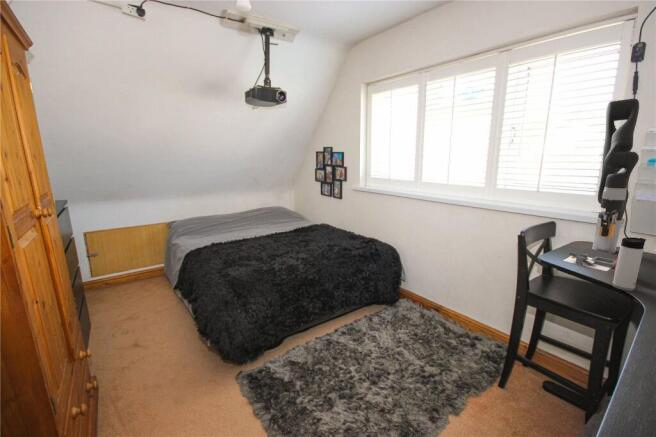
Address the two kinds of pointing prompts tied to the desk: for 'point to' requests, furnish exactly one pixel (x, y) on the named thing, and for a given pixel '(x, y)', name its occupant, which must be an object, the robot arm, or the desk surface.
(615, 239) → the robot arm
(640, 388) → the desk surface
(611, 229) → the block
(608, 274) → the desk surface
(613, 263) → the lockout socket
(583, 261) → the breaker rocker
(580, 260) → the switch mount
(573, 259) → the breaker panel
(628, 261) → the travel mug
